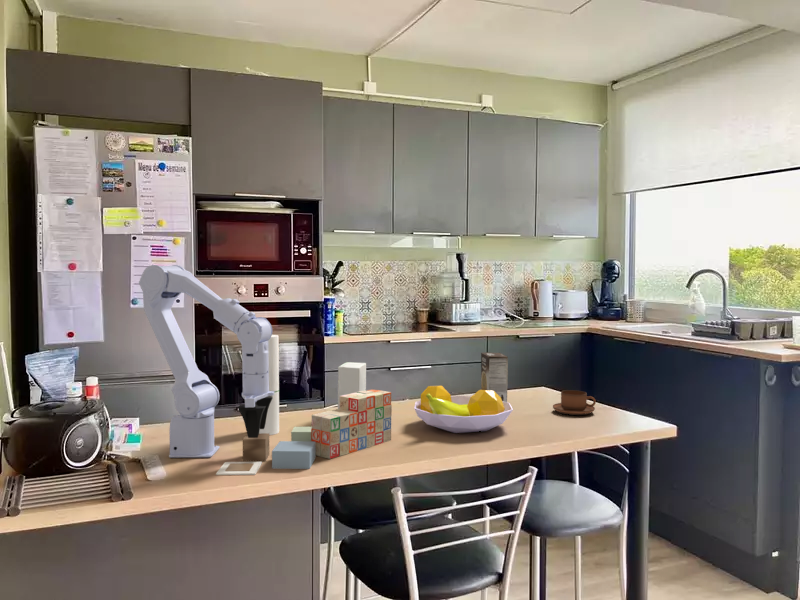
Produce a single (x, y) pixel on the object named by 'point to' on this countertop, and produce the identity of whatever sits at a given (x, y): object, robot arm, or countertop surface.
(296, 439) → the sage cube
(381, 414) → the stack of blocks
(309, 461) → the base block
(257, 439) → the walnut cube
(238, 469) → the white flat square frame
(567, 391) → the cup and saucer
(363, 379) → the skincare box
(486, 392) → the fruit bowl
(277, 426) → the cylindrical container
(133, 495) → the countertop surface
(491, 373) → the coffee box
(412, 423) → the countertop surface
